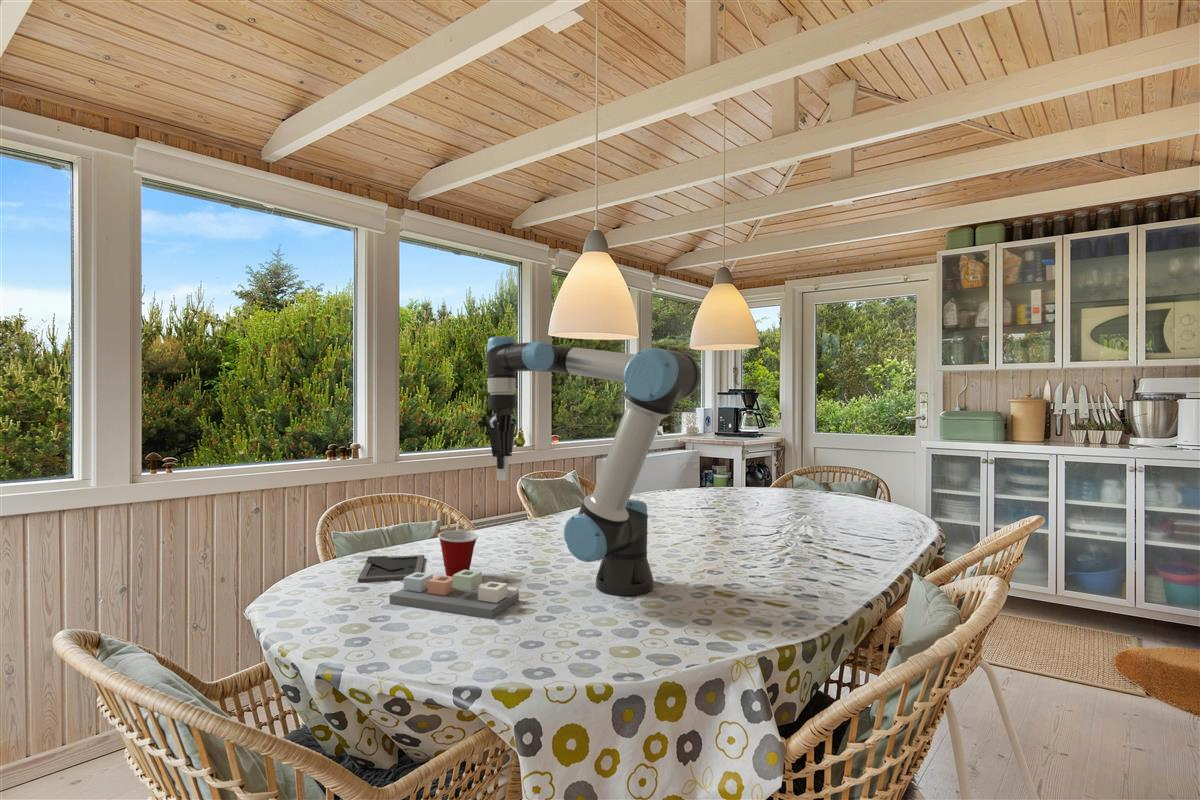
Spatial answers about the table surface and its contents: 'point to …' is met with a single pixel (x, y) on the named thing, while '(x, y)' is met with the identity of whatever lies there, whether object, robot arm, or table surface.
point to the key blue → (417, 581)
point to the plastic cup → (457, 550)
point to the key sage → (467, 579)
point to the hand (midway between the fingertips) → (502, 480)
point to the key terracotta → (441, 585)
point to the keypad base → (456, 601)
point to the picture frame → (390, 568)
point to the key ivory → (492, 592)
